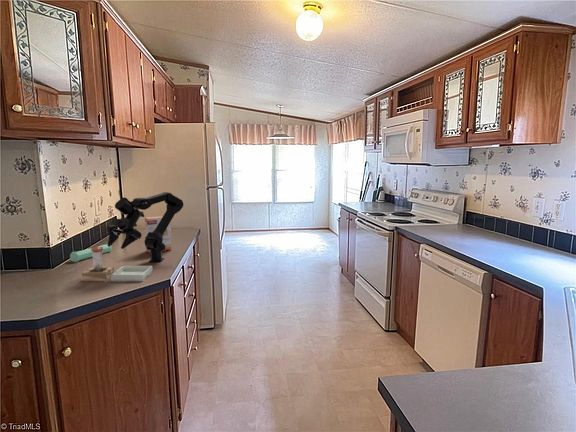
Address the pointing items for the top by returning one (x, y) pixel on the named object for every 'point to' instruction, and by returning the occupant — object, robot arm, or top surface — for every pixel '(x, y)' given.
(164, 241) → the cracker box
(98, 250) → the clear tall cylinder
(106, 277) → the socket block
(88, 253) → the container
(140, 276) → the tray
